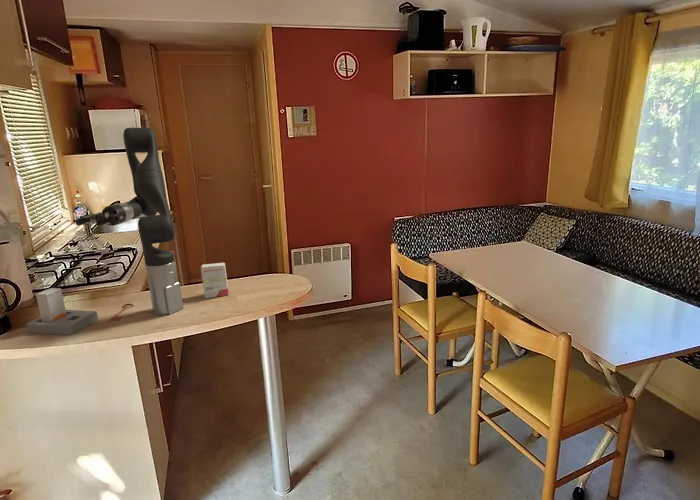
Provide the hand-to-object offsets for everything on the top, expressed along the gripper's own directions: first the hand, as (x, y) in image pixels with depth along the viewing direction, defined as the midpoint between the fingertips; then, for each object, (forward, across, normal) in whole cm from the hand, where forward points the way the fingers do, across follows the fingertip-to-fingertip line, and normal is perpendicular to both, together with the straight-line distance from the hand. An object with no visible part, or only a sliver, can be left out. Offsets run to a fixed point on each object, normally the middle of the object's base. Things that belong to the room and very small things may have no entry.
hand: (87, 222), depth 163 cm
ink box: (-12, +40, +30) cm, 52 cm away
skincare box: (+20, -1, +30) cm, 36 cm away
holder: (+20, +2, +30) cm, 36 cm away
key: (+8, +15, +31) cm, 35 cm away
